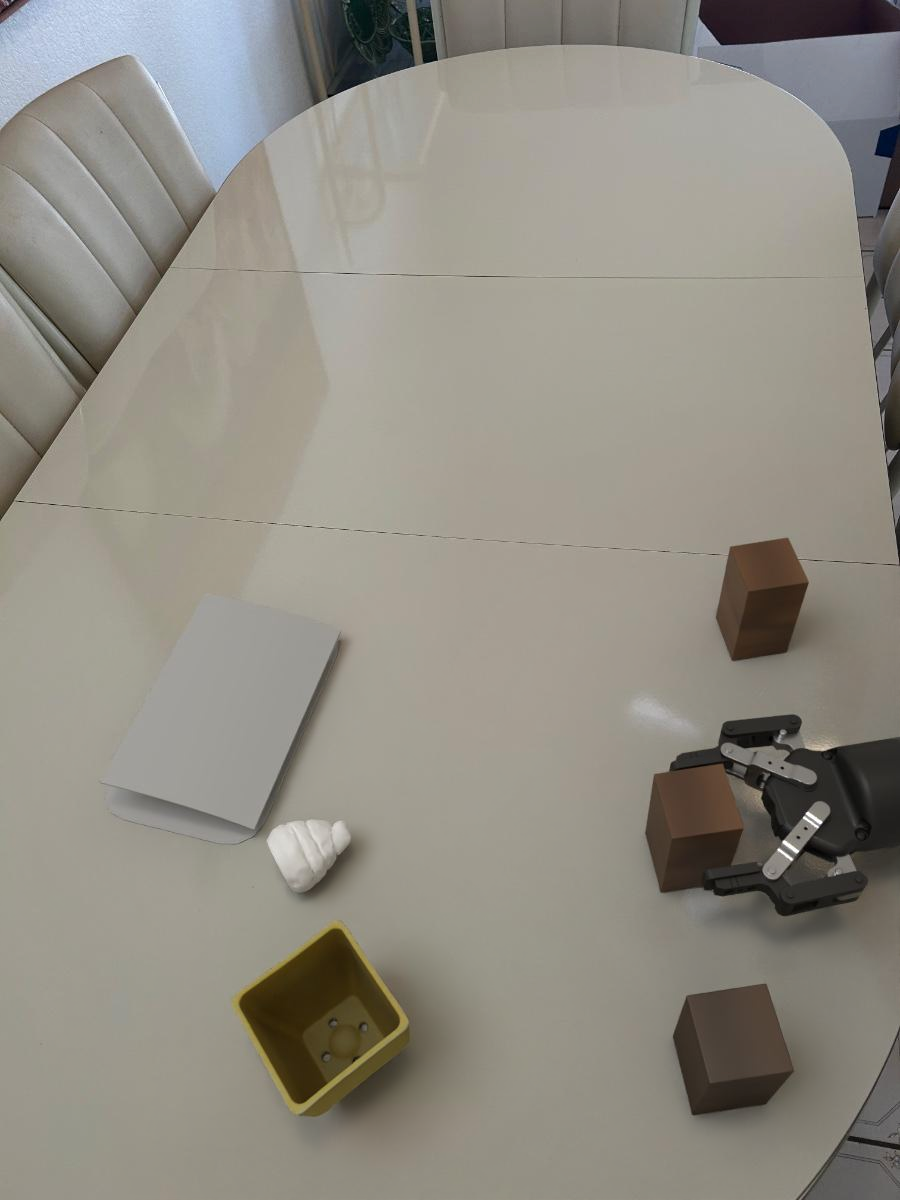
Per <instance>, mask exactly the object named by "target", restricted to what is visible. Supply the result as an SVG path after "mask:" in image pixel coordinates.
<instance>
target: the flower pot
mask: <svg viewBox="0 0 900 1200" xmlns="http://www.w3.org/2000/svg"><path fill="white" fill-rule="evenodd" d="M230 1007H232V1010H233V1012H234V1013H235V1015H236V1016H237V1019H238V1020H239V1022H240V1023H241V1025H242V1027H243V1029H244V1031H245V1032H246V1034H247V1036H248V1038H249V1039H250V1041H251V1043H252V1045H253V1047H254V1048H255V1050H256V1052H257V1054H258V1055H259V1057H260V1059H261V1061H262V1063H263V1065H264V1067H265V1068H266V1070H267V1072H268V1074H269V1075H270V1077H271V1079H272V1081H273V1082H274V1085H275V1086H276V1088H277V1090H278V1092H279V1093H280V1095H281V1098H282V1099H283V1101H284V1103H285V1104H286V1106H287V1108H288V1110H289V1112H290V1113H291V1114H293V1116H300V1117H307V1118H309V1117H312V1118H316V1117H320V1116H322V1115H324V1114H325V1113H326V1112H329V1110H330V1109H332V1108H333V1107H334V1106H335V1105H337V1104H338V1103H339V1102H340V1101H341V1100H343V1099H344V1098H345V1097H346V1096H347V1095H349V1094H350V1093H351V1092H352V1091H353V1090H355V1089H356V1088H357V1087H359V1086H360V1085H361V1084H362V1083H363V1082H364V1081H366V1080H367V1079H368V1078H369V1077H371V1076H372V1075H373V1074H374V1073H375V1072H377V1071H378V1070H380V1068H382V1067H383V1066H385V1065H386V1064H387V1063H388V1062H389V1061H390V1060H392V1059H393V1058H395V1057H396V1056H398V1054H399V1053H401V1052H402V1051H404V1049H406V1047H407V1046H408V1045H409V1043H410V1039H411V1033H410V1032H411V1031H410V1020H409V1017H408V1015H407V1014H406V1012H405V1011H404V1010H403V1008H402V1006H401V1005H400V1004H399V1002H398V1001H397V999H396V998H395V996H394V995H393V994H392V992H391V990H390V989H389V988H388V986H387V985H386V984H385V982H384V980H383V979H382V978H381V976H380V975H379V973H378V972H377V970H376V969H375V968H374V966H373V964H372V962H370V959H369V958H368V957H367V955H366V954H365V952H364V951H363V949H362V948H361V946H360V944H358V942H357V940H356V939H355V937H354V935H353V934H352V933H351V931H350V930H349V928H348V927H347V925H346V924H345V922H343V921H342V920H341V919H335V920H333V921H332V922H330V923H328V925H326V926H324V928H322V929H321V930H320V931H318V932H317V933H316V934H314V935H313V936H312V937H310V939H308V940H307V941H306V942H304V943H303V944H301V945H300V946H299V947H298V948H296V949H295V950H294V951H293V952H292V953H290V954H289V955H287V956H286V957H285V958H284V959H282V960H280V961H279V962H278V963H276V964H275V965H274V966H273V967H270V968H269V969H268V970H267V971H265V972H264V973H262V974H261V975H260V976H258V977H257V978H256V979H254V980H253V981H251V982H250V983H249V984H247V985H246V986H244V987H243V988H241V989H240V990H239V991H238V992H237V993H235V994H234V995H233V996H232V998H231V999H230ZM332 1020H335V1021H336V1025H335V1026H334V1027H333V1026H331V1021H332ZM363 1024H365V1025H366V1030H365V1031H362V1030H361V1026H362V1025H363ZM325 1054H329V1059H328V1060H327V1061H325V1060H324V1058H323V1057H324V1055H325ZM356 1058H357V1059H356ZM355 1059H356V1060H355Z"/></svg>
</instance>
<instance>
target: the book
mask: <svg viewBox="0 0 900 1200" xmlns="http://www.w3.org/2000/svg"><path fill="white" fill-rule="evenodd" d="M341 633H342V630H340V629H338V628H336V627H333V626H330V625H327V624H324V623H322V622H319V621H316V620H313V619H311V618H308V617H304V616H302V615H298V614H295V613H291V612H288V611H284V610H282V609H278V608H273V607H269V606H264V605H262V604H258V603H254V602H250V601H245V600H241V599H236V598H233V597H228V596H223V595H218V594H212V593H206V592H204V593H203V595H202V597H201V599H200V601H199V602H198V604H197V606H196V607H195V609H194V612H193V613H192V615H191V617H190V618H189V620H188V623H187V624H186V626H185V628H184V629H183V631H182V633H181V635H180V637H179V638H178V640H177V642H176V644H175V645H174V647H173V649H172V651H171V652H170V655H169V657H168V658H167V660H166V661H165V664H164V665H163V667H162V669H161V671H160V673H159V674H158V676H157V678H156V680H155V681H154V683H153V685H152V687H151V689H150V690H149V692H148V694H147V696H146V697H145V700H144V701H143V703H142V704H141V706H140V709H139V710H138V712H137V714H136V716H135V718H134V719H133V721H132V723H131V724H130V727H129V728H128V730H127V731H126V733H125V735H124V737H123V739H122V741H121V743H120V745H119V746H118V748H117V749H116V751H115V753H114V755H113V757H112V758H111V761H110V762H109V764H108V766H107V768H106V769H105V772H104V773H103V775H102V777H101V779H100V780H99V784H101V785H106V786H107V787H106V791H105V795H104V802H105V803H106V806H107V809H108V810H109V813H111V814H113V816H116V817H118V818H120V819H121V820H124V821H127V822H131V823H135V824H138V825H142V826H146V827H151V828H155V829H159V830H163V831H167V832H171V833H174V834H178V835H183V836H186V837H190V838H191V837H192V838H193V839H199V840H203V841H206V842H210V843H214V844H219V845H238V844H240V843H243V842H244V841H247V840H249V839H252V838H254V837H255V836H256V834H257V833H258V832H259V831H260V829H262V827H263V826H264V825H265V823H266V822H267V820H268V819H267V818H268V817H269V814H270V812H271V809H272V807H273V805H274V802H275V799H276V798H277V796H278V793H279V791H280V789H281V786H282V784H283V781H284V779H285V777H286V775H287V772H288V769H289V767H290V765H291V763H292V760H293V758H294V756H295V754H296V751H297V749H298V747H299V744H300V742H301V740H302V738H303V735H304V733H305V730H306V728H307V726H308V723H309V721H310V719H311V716H312V714H313V712H314V709H315V707H316V705H317V703H318V700H319V697H320V695H321V693H322V692H323V689H324V687H325V684H326V681H327V680H328V677H329V675H330V672H331V670H332V667H333V666H334V663H335V660H336V658H337V656H338V653H339V642H340V641H339V637H340V635H341Z"/></svg>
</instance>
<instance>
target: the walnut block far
mask: <svg viewBox="0 0 900 1200" xmlns="http://www.w3.org/2000/svg"><path fill="white" fill-rule="evenodd" d="M809 583H810V581H809V579H808V576H807V574H806V572H805V571H804V569H803V566H802V564H801V561H800V560H799V557H798V555H797V553H796V551H795V549H794V547H793V544H792V543H791V540H790V539H789V537H782V538H776V539H769V540H763V541H762V540H761V541H756V542H750V543H744V544H737V545H731V546H729V550H728V555H727V560H726V564H725V570H724V575H723V580H722V585H721V590H720V593H719V594H720V595H719V599H718V604H717V610H716V613H715V620H716V622H717V625H718V628H719V630H720V633H721V635H722V638H723V641H724V643H725V646H726V649H727V651H728V654H729V657H730V659H731V661H738V660H739V661H740V660H745V659H752V658H759V657H765V656H770V655H777V654H785V653H788V650H789V647H790V644H791V640H792V638H793V634H794V630H795V627H796V625H797V621H798V618H799V615H800V612H801V609H802V607H803V606H802V605H803V602H804V599H805V596H806V593H807V590H808V587H809Z"/></svg>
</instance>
